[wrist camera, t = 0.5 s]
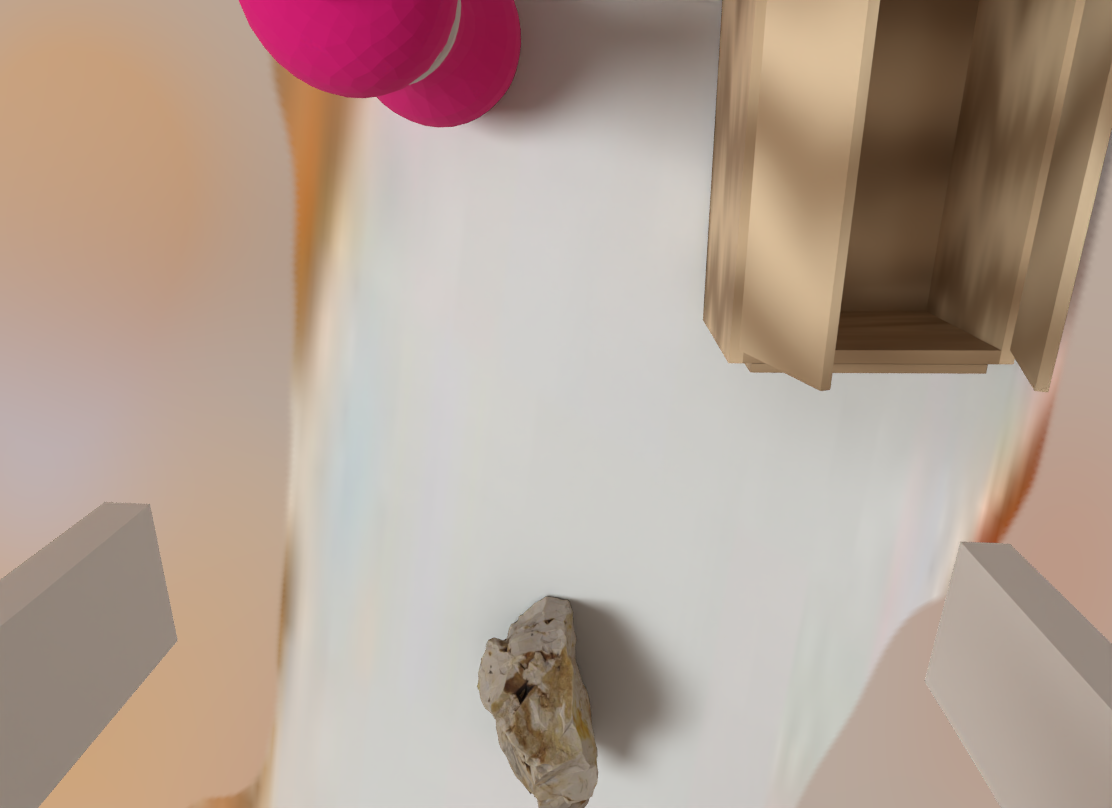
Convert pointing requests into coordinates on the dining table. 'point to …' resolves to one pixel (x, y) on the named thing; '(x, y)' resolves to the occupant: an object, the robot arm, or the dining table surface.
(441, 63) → the pepper mill
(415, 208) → the dining table surface
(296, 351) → the dining table surface
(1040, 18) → the carton
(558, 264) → the dining table surface
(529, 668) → the rock
